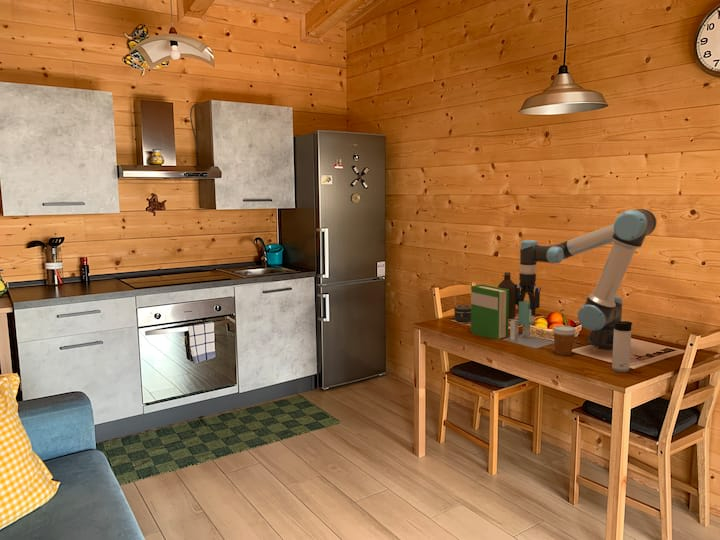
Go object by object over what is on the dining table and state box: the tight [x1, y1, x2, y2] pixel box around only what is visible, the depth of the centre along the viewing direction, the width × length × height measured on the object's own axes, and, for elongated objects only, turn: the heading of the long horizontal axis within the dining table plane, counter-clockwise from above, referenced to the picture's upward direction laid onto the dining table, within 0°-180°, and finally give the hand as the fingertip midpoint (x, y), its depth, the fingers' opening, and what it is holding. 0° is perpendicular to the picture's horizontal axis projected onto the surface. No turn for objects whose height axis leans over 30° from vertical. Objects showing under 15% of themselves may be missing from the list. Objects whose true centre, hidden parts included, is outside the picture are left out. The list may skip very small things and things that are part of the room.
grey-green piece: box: [517, 299, 535, 326], centre depth 268 cm, size 5×5×11 cm
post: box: [507, 319, 521, 343], centre depth 264 cm, size 4×4×10 cm
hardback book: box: [470, 284, 509, 340], centre depth 274 cm, size 18×7×24 cm, turn 33°
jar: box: [453, 304, 471, 323], centre depth 307 cm, size 10×10×8 cm
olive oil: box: [497, 271, 517, 320], centre depth 311 cm, size 11×11×25 cm
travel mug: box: [611, 320, 633, 373], centre depth 222 cm, size 6×7×20 cm
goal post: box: [519, 324, 534, 339], centre depth 269 cm, size 4×4×10 cm
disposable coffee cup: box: [552, 324, 577, 356], centre depth 243 cm, size 10×10×12 cm
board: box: [501, 333, 555, 349], centre depth 263 cm, size 19×15×1 cm
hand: (526, 320), depth 269 cm, fingers closed on grey-green piece, 5 cm apart
